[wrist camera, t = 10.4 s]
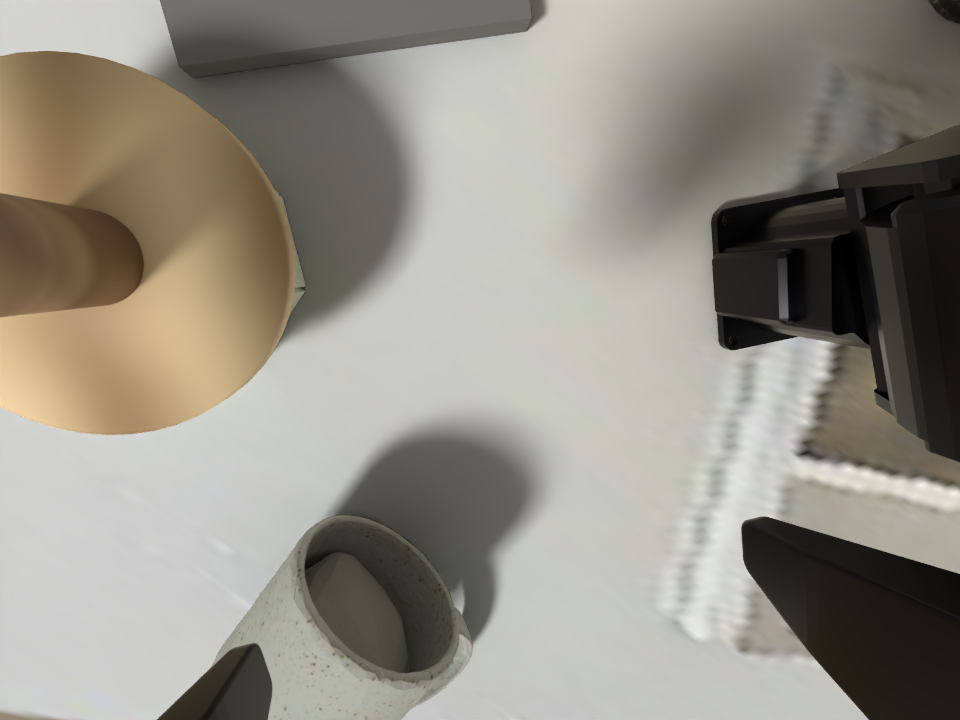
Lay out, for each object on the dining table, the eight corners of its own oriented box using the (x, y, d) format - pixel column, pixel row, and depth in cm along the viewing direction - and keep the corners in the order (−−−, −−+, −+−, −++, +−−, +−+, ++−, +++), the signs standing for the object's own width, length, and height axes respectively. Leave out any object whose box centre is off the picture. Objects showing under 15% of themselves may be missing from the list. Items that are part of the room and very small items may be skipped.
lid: (240, 42, 14) (126, -101, 8) (331, 387, 16) (287, 445, 11) (-160, 97, 13) (-571, -25, 7) (0, 456, 15) (-226, 555, 10)
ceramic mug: (227, 620, 22) (128, 809, 14) (323, 487, 21) (273, 611, 13) (411, 706, 24) (410, 904, 17) (503, 589, 23) (544, 741, 16)
